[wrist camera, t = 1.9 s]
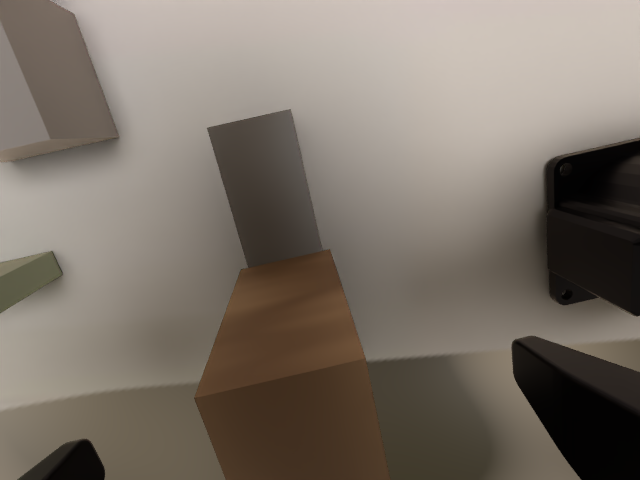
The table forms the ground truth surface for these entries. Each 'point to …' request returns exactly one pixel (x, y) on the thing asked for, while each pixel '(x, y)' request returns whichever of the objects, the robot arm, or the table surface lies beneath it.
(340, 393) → the hoe
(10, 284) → the bin
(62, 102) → the stone block
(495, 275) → the table surface
